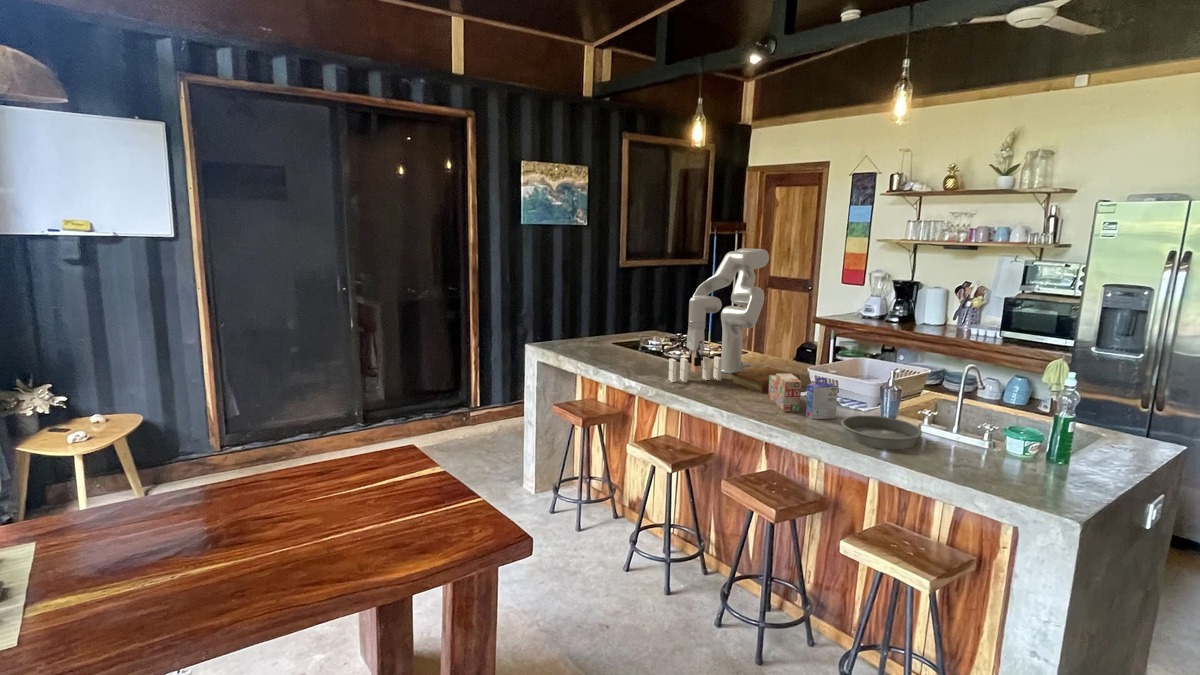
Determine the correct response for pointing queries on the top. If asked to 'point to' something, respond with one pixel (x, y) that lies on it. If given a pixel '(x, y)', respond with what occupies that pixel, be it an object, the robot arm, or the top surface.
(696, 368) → the terracotta domino
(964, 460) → the top surface
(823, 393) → the ink cartridge box
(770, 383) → the stack of blocks
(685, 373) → the domino
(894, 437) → the cake pan
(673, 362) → the head domino
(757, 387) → the diary
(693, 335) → the robot arm
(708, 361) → the domino
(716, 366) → the end domino
